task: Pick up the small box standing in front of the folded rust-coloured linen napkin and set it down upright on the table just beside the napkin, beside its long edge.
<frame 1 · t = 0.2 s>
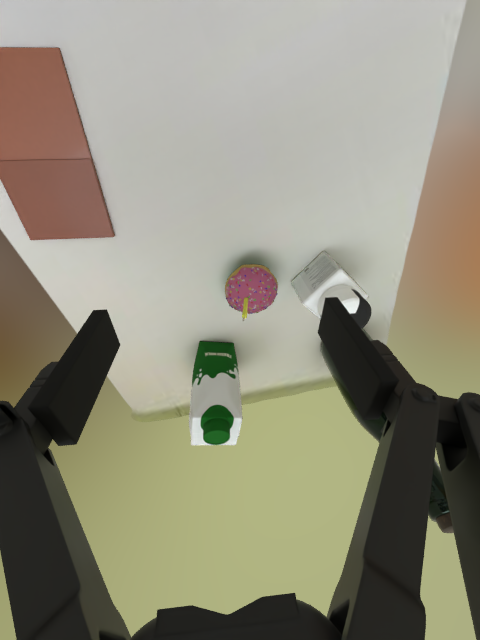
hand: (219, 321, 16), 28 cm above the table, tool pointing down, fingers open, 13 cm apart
cupcake: (248, 276, 45), on the table
container: (319, 278, 47), on the table
milk carton: (215, 353, 56), on the table
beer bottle: (342, 342, 57), on the table
napkin: (43, 159, 33), on the table
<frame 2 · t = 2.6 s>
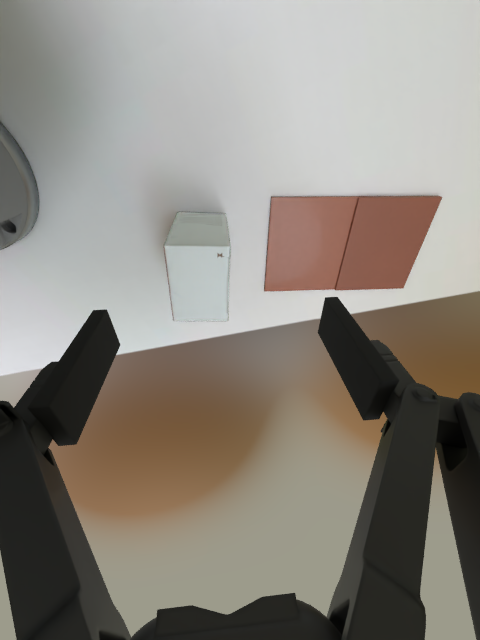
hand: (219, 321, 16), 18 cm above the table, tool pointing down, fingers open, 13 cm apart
small box: (203, 245, 32), on the table
napkin: (344, 247, 33), on the table
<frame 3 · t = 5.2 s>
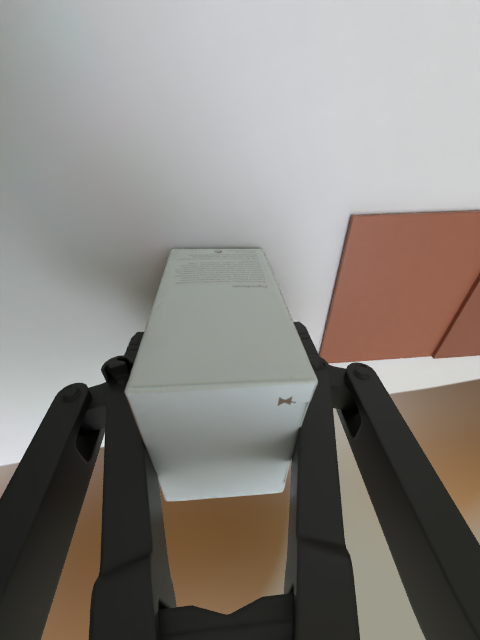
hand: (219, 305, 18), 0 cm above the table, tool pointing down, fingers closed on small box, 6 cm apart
small box: (219, 301, 18), on the table, touching gripper
napkin: (462, 294, 19), on the table
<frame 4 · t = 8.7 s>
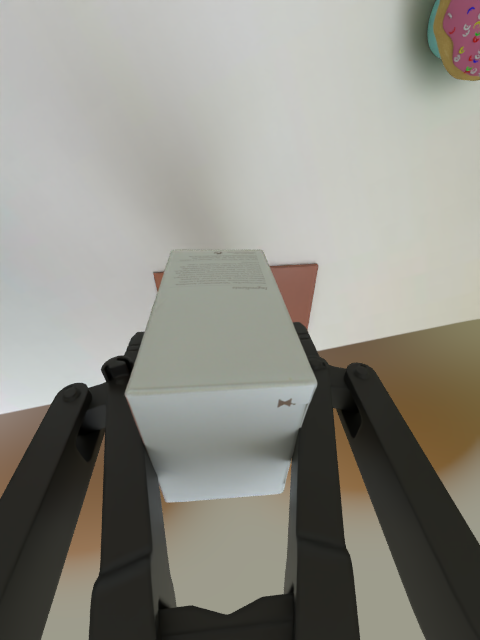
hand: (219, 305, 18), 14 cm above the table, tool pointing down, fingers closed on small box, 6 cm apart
small box: (219, 301, 18), point 14 cm above the table, touching gripper
cupcake: (453, 17, 21), on the table
napkin: (237, 308, 35), on the table
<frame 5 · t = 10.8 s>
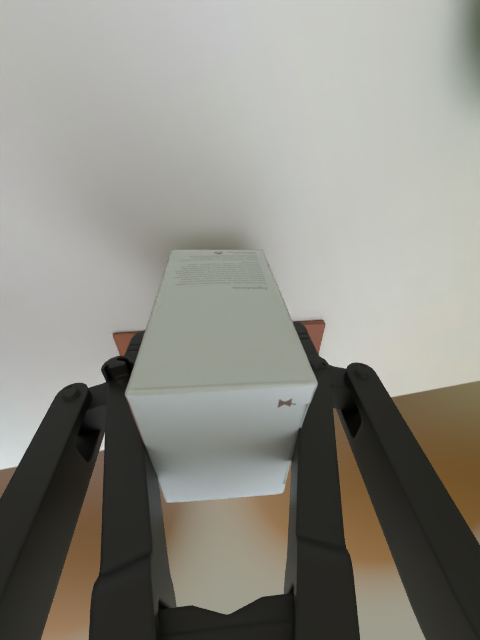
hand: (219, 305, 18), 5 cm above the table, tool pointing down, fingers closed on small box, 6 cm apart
small box: (219, 301, 18), point 4 cm above the table, touching gripper
napkin: (224, 370, 28), on the table
when the fingers open (0 cm above the table, at t = 12.4 s): small box stays where it is, on the table.
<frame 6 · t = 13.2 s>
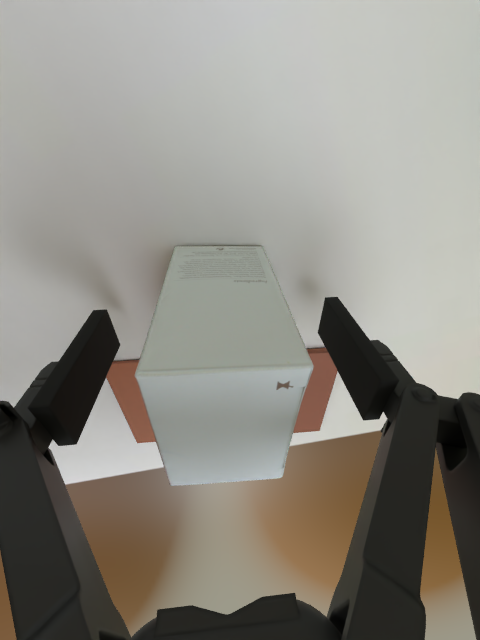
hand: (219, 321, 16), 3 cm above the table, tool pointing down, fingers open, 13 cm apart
small box: (220, 297, 19), on the table
napkin: (227, 399, 25), on the table
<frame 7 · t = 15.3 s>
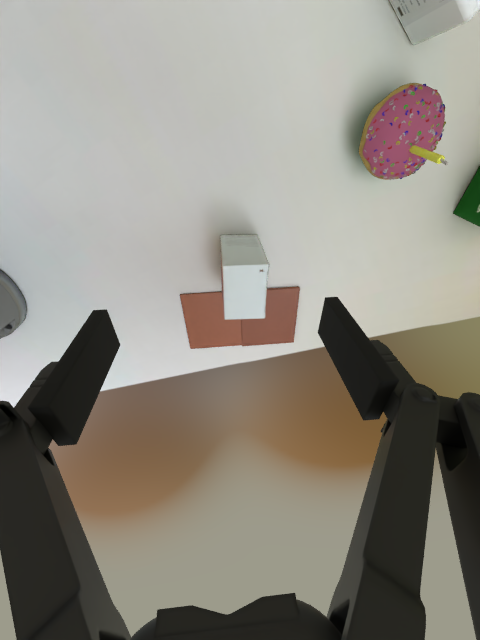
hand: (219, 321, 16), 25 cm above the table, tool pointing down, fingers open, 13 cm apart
small box: (239, 259, 40), on the table
cupcake: (378, 135, 32), on the table
napkin: (241, 319, 47), on the table
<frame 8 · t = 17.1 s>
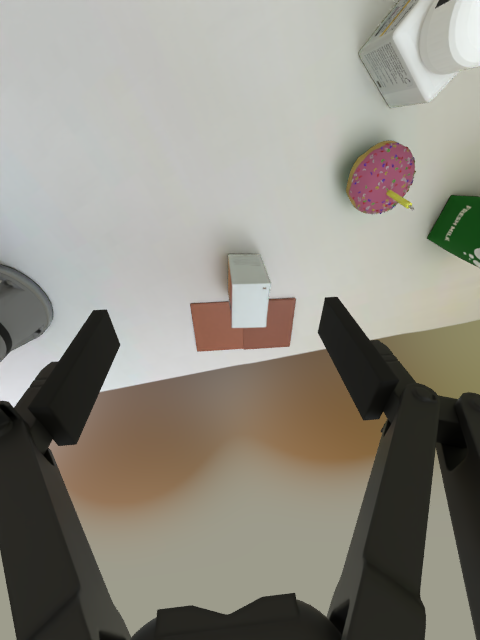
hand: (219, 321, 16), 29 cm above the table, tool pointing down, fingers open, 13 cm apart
small box: (243, 274, 46), on the table
cupcake: (363, 175, 38), on the table
container: (401, 50, 31), on the table
milk carton: (456, 220, 43), on the table
napkin: (243, 325, 53), on the table
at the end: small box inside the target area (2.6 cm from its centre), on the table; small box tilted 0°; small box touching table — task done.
